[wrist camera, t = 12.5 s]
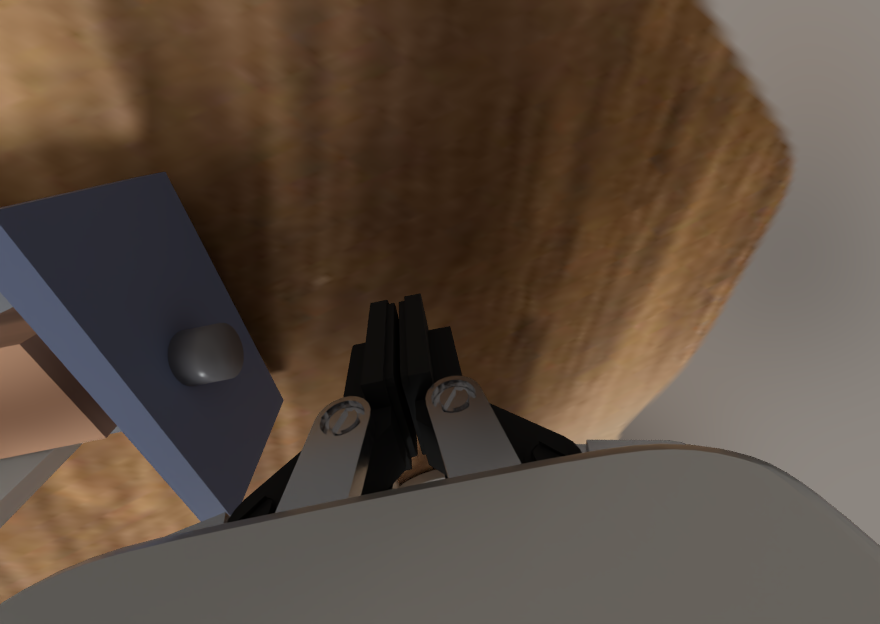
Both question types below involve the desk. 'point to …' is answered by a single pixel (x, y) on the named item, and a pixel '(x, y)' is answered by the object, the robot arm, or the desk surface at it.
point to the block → (41, 396)
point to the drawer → (27, 476)
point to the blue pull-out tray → (144, 330)
